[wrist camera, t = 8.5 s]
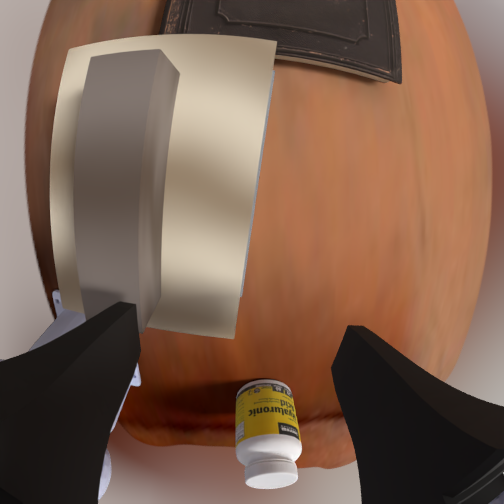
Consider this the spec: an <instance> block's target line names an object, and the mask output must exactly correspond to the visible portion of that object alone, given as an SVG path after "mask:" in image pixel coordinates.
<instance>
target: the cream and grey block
mask: <svg viewBox="0 0 504 504" xmlns="http://www.w3.org/2000/svg"><path fill="white" fill-rule="evenodd" d="M276 46H277V41H271V40H265V39H257V38H249V37H240V36H228V35H211V34H168V35H152V36H140V37H131V38H123V39H116V40H110V41H104V42H99V43H94V44H89V45H84V46H80V47H76V48H72V49H69V51H68V55H67V58H66V62H65V66H64V70H63V74H62V79H61V83H60V88H59V93H58V99H57V105H56V111H55V118H54V126H53V135H52V145H51V160H50V218H51V233H52V244H53V253H54V261H55V268H56V275H57V281H58V287H59V292H60V297H61V302H62V307H63V308H64V309H68V310H71V311H75V312H79V313H83V314H85V318H86V321H87V320H89V319H90V318H92V317H94V316H95V315H97V314H99V313H100V312H102V311H103V310H105V309H107V308H108V307H110V306H112V305H113V304H115V303H117V302H119V301H122V302H127V303H133V304H136V308H137V320H138V330H139V333H143V332H144V330H145V328H146V327H150V328H156V329H162V330H168V331H175V332H181V333H188V334H196V335H203V336H211V337H220V338H229V339H234V335H235V328H236V321H237V313H238V306H239V299H240V292H241V285H242V277H243V270H244V263H245V256H246V249H247V242H248V235H249V228H250V221H251V214H252V207H253V200H254V193H255V186H256V179H257V172H258V165H259V158H260V152H261V145H262V138H263V131H264V125H265V118H266V111H267V105H268V98H269V91H270V85H271V78H272V72H273V65H274V59H275V52H276Z"/></svg>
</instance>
